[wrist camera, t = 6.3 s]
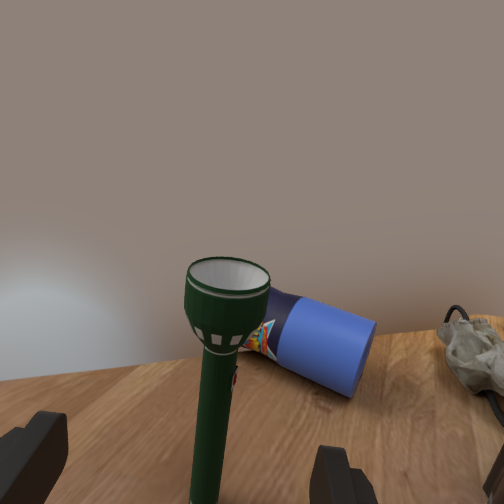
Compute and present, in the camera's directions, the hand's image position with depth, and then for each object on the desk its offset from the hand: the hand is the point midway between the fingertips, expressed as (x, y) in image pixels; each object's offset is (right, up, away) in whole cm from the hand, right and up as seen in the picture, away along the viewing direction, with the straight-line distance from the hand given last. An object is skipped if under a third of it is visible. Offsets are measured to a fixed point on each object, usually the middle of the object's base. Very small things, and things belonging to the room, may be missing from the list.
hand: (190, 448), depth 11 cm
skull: (+30, +3, +35) cm, 46 cm away
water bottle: (+15, -6, +30) cm, 34 cm away
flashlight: (-2, -14, +17) cm, 22 cm away
